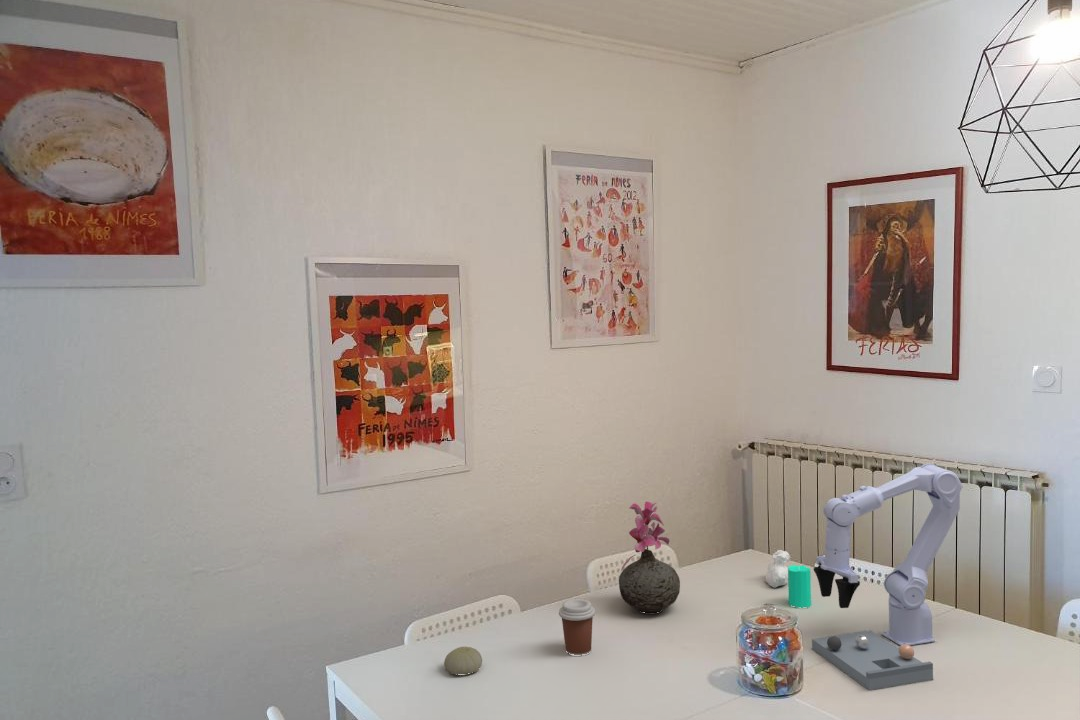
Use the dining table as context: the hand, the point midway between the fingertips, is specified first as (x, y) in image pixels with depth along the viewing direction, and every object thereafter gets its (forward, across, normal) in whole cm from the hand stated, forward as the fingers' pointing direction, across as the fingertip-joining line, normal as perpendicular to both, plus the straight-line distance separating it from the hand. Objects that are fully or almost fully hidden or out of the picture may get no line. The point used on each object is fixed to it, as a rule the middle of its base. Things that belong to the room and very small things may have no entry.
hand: (834, 601), depth 193 cm
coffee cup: (+15, -15, -61) cm, 65 cm away
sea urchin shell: (+17, -14, -90) cm, 93 cm away
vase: (+13, -34, -35) cm, 51 cm away
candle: (+10, -24, +6) cm, 27 cm away
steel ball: (+6, +10, +1) cm, 12 cm away
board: (+10, +13, +1) cm, 16 cm away
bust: (+10, -41, +9) cm, 43 cm away
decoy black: (+6, +9, -6) cm, 12 cm away
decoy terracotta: (+5, +18, +7) cm, 20 cm away
